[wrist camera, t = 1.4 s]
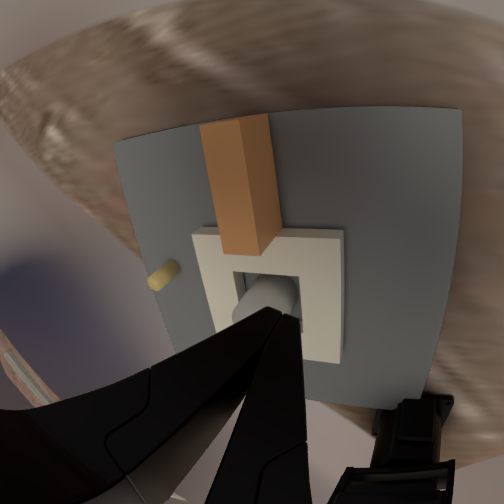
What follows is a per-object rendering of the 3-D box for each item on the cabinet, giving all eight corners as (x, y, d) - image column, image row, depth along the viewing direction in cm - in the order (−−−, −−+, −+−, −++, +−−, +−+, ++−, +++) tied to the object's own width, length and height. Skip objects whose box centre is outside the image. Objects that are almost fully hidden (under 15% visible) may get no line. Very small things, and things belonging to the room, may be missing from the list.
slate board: (416, 402, 22) (411, 446, 18) (188, 364, 31) (164, 394, 27) (457, 108, 12) (481, 113, 9) (121, 140, 22) (75, 155, 18)
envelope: (50, 404, 86) (60, 407, 78) (47, 408, 84) (56, 411, 76) (6, 351, 81) (11, 348, 73) (2, 355, 79) (6, 352, 71)
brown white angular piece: (343, 351, 21) (332, 389, 18) (226, 334, 24) (204, 364, 22) (334, 107, 14) (320, 110, 11) (181, 127, 18) (142, 137, 15)
